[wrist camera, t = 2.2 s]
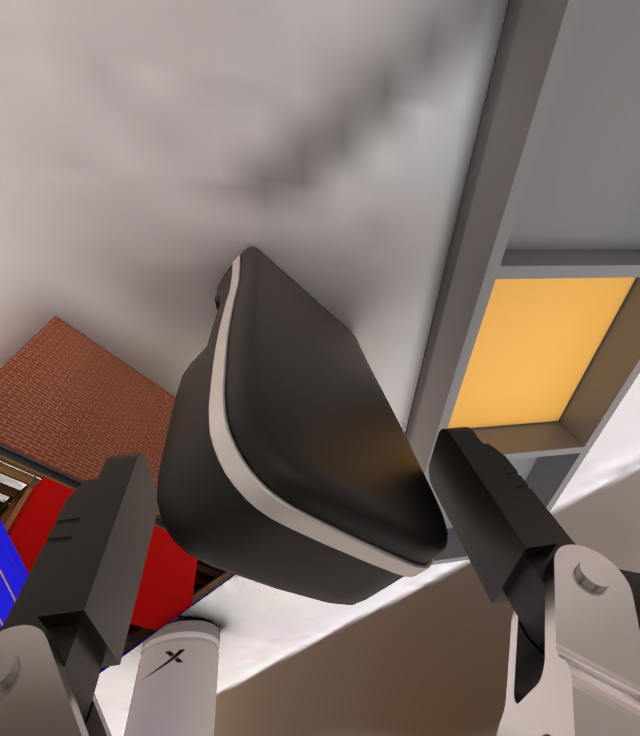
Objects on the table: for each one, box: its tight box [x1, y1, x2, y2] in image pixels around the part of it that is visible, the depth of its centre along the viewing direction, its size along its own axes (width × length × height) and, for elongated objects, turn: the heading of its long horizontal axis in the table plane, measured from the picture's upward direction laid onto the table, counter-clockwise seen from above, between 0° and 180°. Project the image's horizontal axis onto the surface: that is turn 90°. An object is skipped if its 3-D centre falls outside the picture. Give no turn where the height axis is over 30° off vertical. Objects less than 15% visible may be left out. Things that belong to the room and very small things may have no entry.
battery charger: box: [157, 247, 448, 605], centre depth 12 cm, size 7×4×11 cm, turn 44°
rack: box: [405, 0, 640, 565], centre depth 18 cm, size 32×10×3 cm, turn 177°
